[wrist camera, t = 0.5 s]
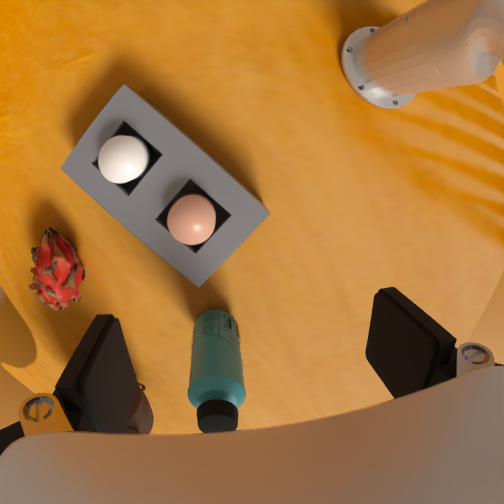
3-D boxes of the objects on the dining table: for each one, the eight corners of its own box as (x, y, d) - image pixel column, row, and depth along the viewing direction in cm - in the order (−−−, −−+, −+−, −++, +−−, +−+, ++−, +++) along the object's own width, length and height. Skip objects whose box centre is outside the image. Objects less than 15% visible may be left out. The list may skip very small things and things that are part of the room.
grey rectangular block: (137, 92, 33) (123, 84, 27) (263, 203, 39) (270, 213, 34) (81, 164, 35) (60, 168, 29) (201, 268, 42) (198, 288, 36)
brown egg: (192, 182, 34) (188, 187, 30) (225, 211, 35) (225, 219, 31) (164, 215, 35) (157, 223, 31) (196, 242, 36) (193, 254, 32)
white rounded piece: (129, 127, 31) (118, 125, 27) (160, 154, 32) (152, 155, 29) (103, 161, 32) (89, 163, 28) (132, 187, 33) (122, 193, 29)
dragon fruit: (72, 296, 43) (69, 221, 41) (99, 313, 39) (95, 227, 37) (27, 307, 35) (20, 226, 33) (47, 327, 31) (39, 232, 29)
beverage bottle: (186, 327, 44) (172, 434, 26) (207, 294, 43) (201, 397, 24) (224, 345, 46) (229, 451, 27) (247, 313, 45) (264, 419, 26)
